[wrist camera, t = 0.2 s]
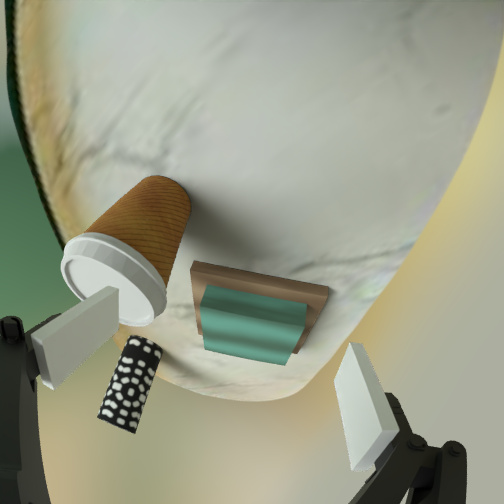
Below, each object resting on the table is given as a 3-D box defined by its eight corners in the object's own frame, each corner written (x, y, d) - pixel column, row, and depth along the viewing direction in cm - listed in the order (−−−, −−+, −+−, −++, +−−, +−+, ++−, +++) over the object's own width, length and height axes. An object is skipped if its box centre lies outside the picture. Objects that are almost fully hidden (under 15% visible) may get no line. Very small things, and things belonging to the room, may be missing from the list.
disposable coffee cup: (108, 186, 27) (43, 267, 19) (166, 143, 23) (86, 232, 14) (161, 246, 32) (118, 332, 24) (225, 219, 28) (186, 324, 20)
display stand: (194, 260, 33) (180, 291, 30) (328, 286, 32) (327, 320, 29) (201, 326, 45) (193, 351, 41) (298, 345, 44) (295, 372, 40)
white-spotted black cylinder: (156, 356, 61) (130, 432, 47) (125, 340, 58) (95, 416, 44) (167, 349, 56) (139, 435, 42) (133, 331, 53) (98, 417, 39)
